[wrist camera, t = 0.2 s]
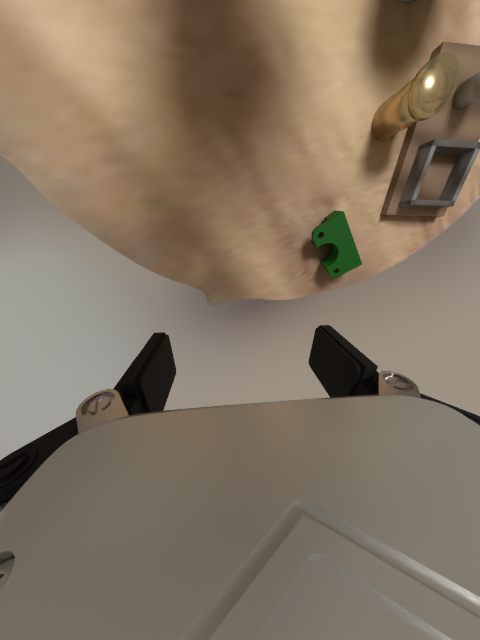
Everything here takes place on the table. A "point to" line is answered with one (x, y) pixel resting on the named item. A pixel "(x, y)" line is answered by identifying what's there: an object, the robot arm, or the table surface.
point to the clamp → (337, 244)
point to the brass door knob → (418, 97)
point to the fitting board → (439, 146)
